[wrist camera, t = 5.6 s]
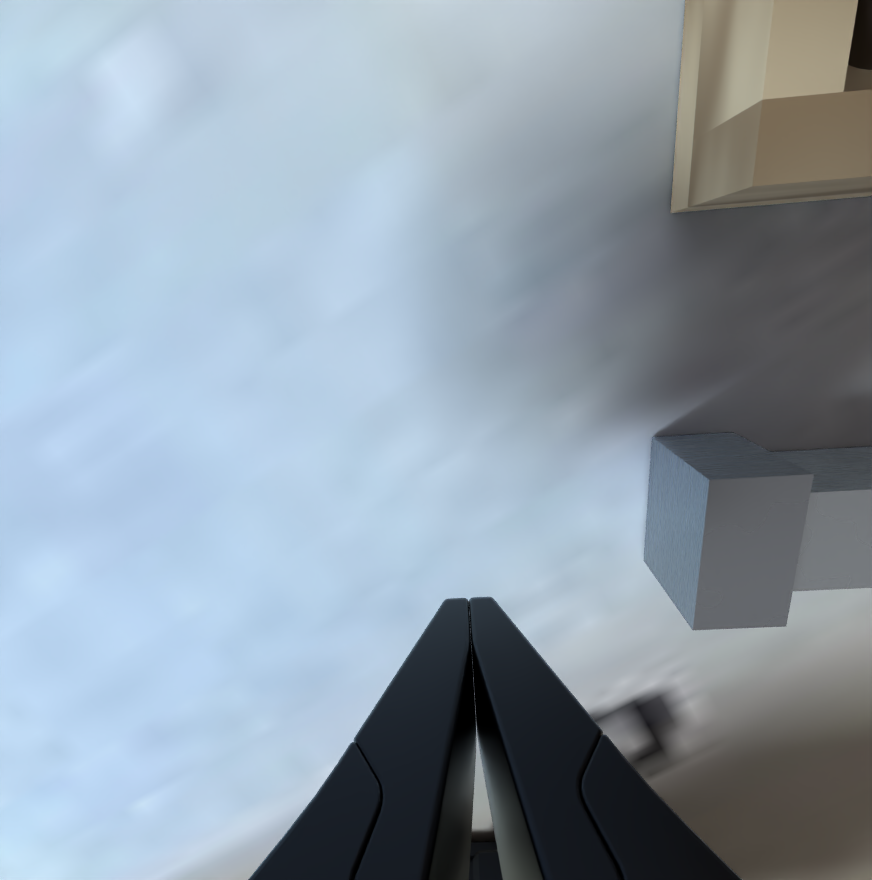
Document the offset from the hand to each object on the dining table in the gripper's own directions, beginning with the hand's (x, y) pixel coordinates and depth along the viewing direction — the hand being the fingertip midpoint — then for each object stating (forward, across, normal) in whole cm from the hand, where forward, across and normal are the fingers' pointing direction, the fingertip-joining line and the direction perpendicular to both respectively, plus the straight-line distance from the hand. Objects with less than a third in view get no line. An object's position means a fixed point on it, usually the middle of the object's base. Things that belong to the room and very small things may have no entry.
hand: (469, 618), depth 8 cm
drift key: (+5, -11, 0) cm, 12 cm away
